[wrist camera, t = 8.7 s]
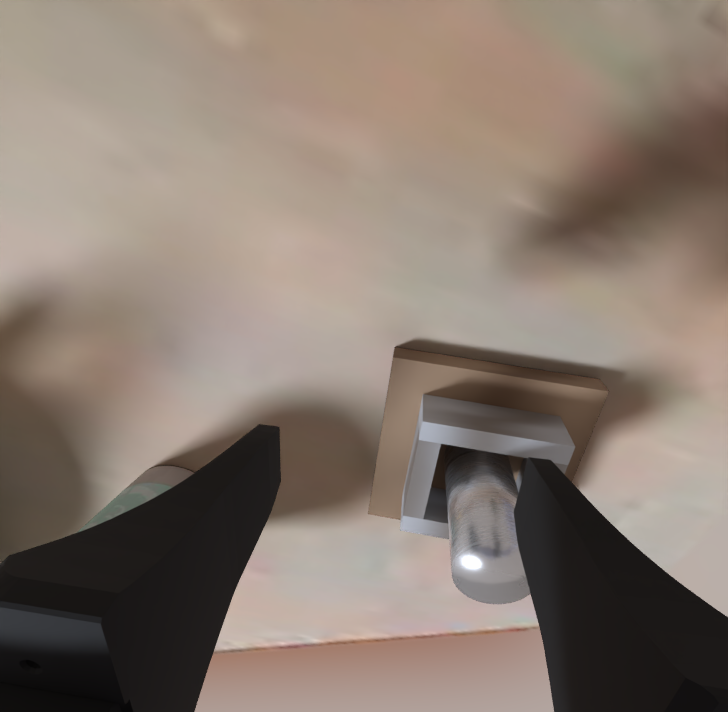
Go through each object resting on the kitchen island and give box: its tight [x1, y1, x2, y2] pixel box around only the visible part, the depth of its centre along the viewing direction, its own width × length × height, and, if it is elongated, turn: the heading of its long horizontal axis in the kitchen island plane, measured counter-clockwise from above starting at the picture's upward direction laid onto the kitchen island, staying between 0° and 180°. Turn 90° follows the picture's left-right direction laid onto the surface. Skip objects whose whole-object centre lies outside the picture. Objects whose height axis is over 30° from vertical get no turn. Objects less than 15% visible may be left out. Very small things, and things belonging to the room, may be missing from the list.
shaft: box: [444, 445, 530, 604], centre depth 20 cm, size 3×3×7 cm
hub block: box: [368, 347, 609, 539], centre depth 23 cm, size 10×10×4 cm
